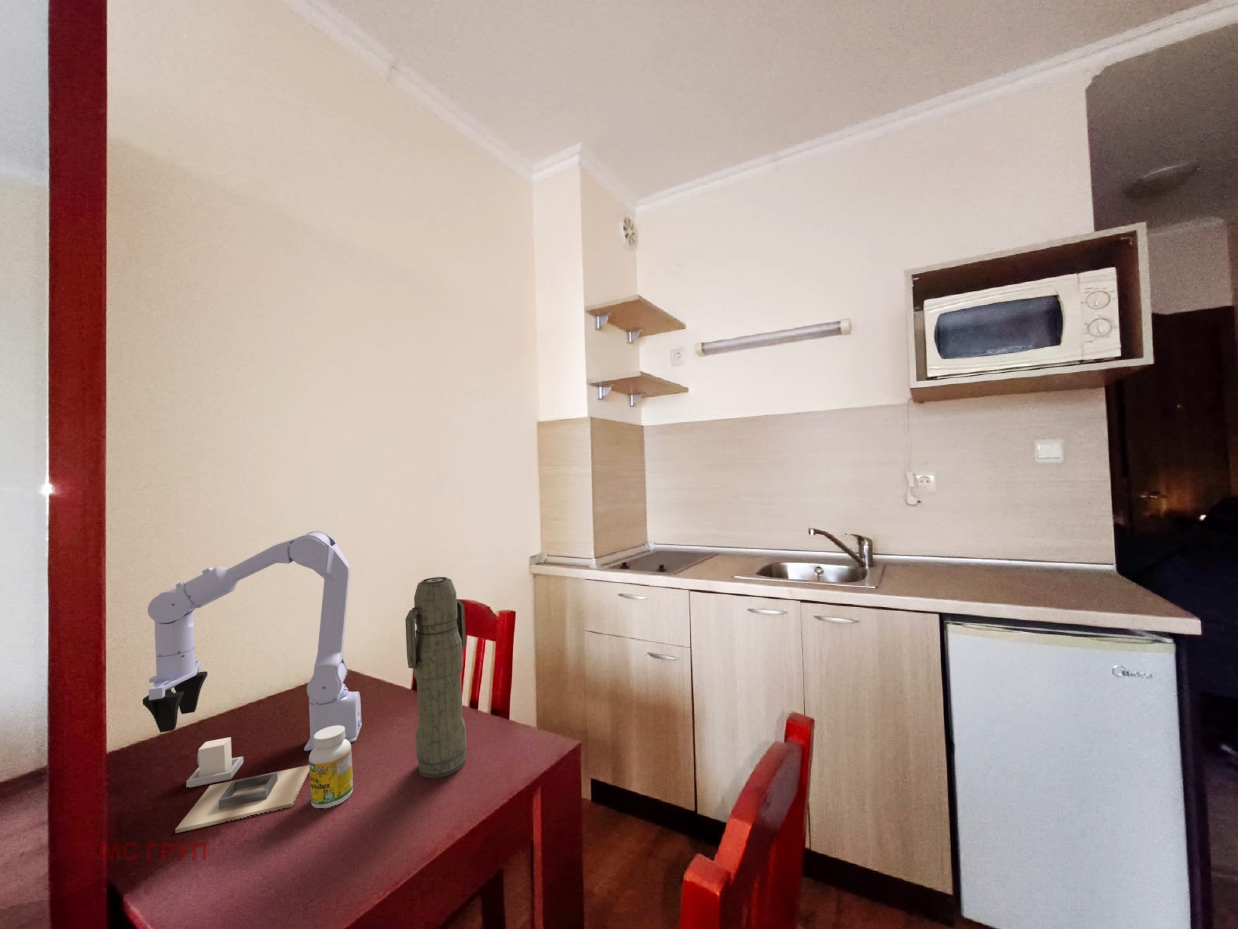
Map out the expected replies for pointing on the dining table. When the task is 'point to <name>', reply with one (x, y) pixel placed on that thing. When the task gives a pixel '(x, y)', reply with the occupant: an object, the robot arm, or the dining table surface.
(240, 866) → the dining table surface
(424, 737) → the thermos
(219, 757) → the plug
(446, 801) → the dining table surface
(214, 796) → the port board
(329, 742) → the supplement bottle
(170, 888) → the dining table surface
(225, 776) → the white picture frame
